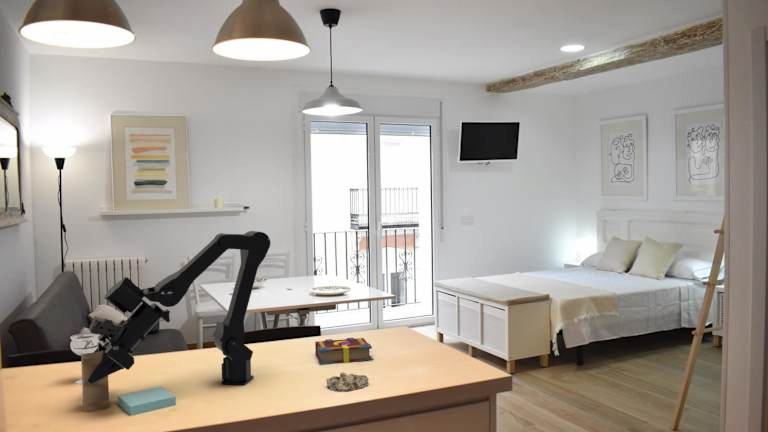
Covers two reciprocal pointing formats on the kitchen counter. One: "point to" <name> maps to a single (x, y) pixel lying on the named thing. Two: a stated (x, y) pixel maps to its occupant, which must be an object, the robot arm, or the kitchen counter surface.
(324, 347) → the decorative book
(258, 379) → the kitchen counter surface
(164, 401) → the ceramic plinth
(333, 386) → the mineral rock
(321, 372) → the kitchen counter surface
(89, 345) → the wineglass
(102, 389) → the walnut post
